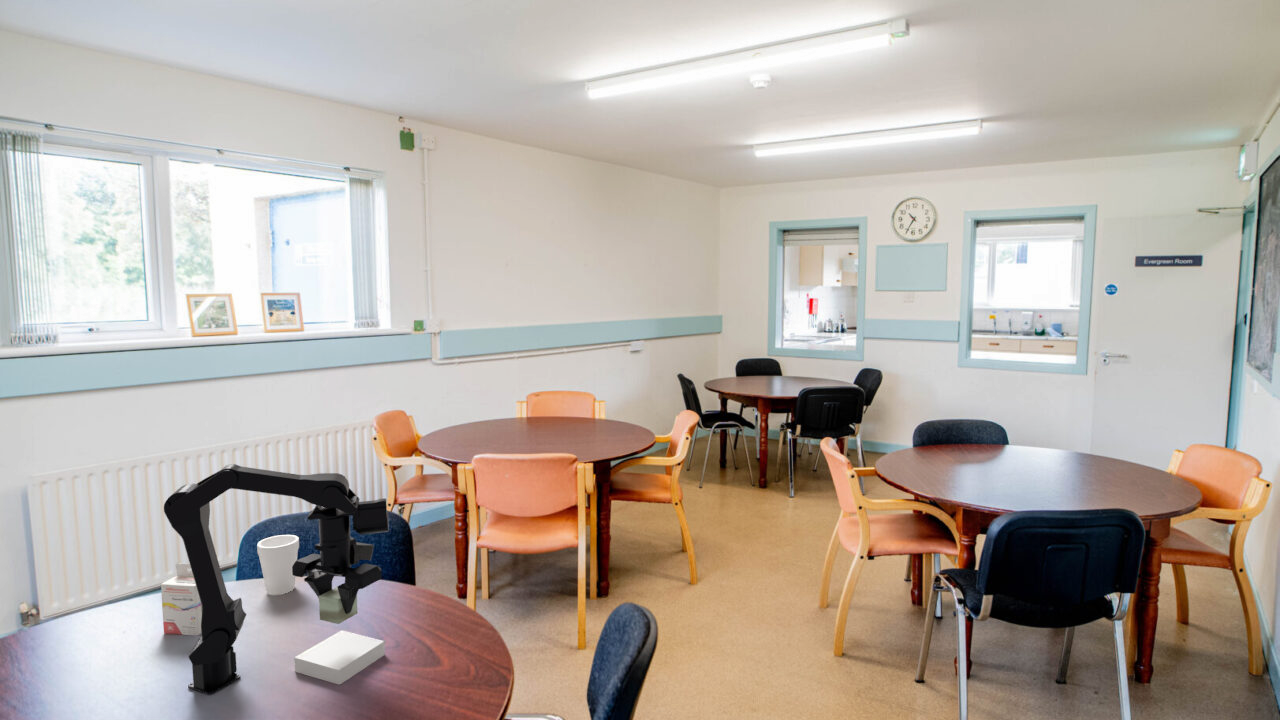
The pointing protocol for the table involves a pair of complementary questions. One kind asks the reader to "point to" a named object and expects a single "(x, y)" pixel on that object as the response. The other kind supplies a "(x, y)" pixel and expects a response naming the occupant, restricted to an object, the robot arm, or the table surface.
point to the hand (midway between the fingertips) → (338, 610)
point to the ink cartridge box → (181, 603)
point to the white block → (339, 657)
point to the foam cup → (278, 562)
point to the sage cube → (334, 607)
